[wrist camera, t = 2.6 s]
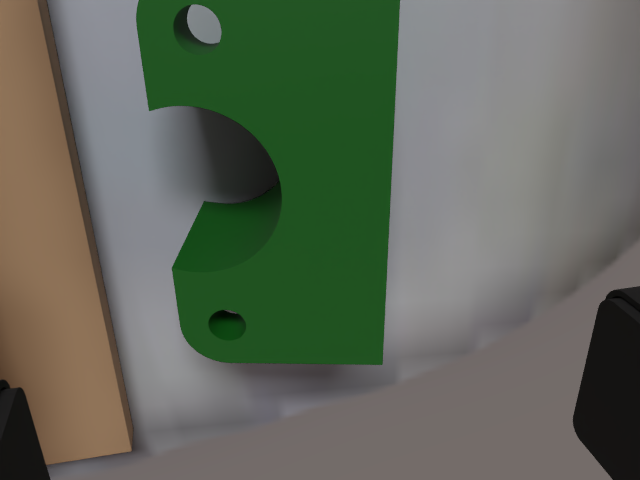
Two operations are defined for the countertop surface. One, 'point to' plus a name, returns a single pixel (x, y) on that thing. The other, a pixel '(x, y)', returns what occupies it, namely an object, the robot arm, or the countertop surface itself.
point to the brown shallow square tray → (51, 257)
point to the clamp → (287, 174)
